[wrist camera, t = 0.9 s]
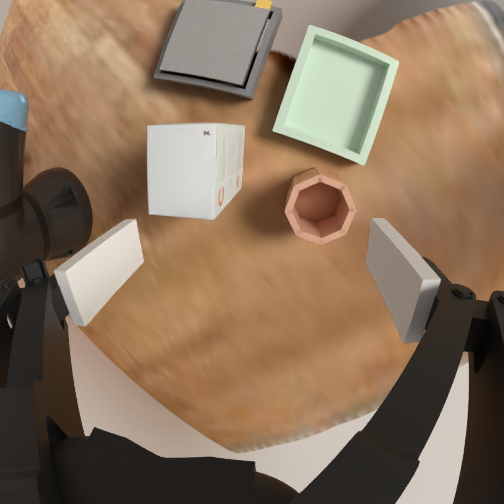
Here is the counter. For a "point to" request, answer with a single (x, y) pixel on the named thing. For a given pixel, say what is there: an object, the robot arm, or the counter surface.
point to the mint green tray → (336, 94)
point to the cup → (319, 206)
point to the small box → (193, 168)
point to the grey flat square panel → (215, 40)
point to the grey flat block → (257, 67)
